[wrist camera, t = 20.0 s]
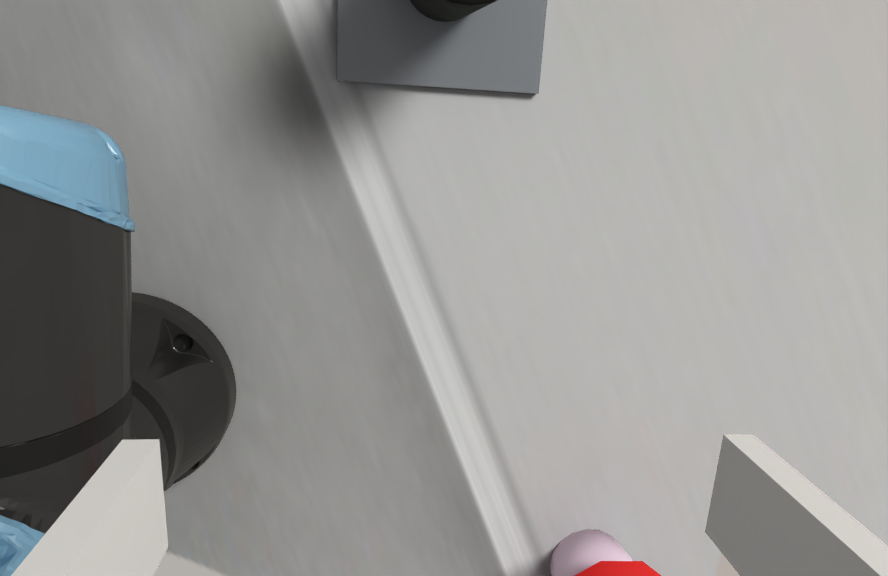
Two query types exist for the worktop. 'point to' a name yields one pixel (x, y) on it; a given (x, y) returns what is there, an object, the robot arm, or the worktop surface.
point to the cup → (449, 8)
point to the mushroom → (594, 557)
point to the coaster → (442, 46)
